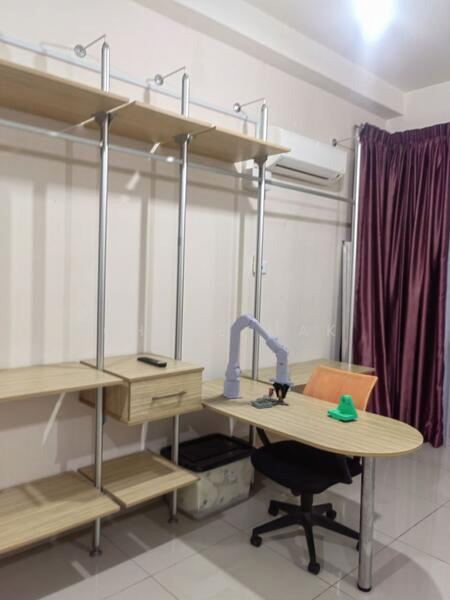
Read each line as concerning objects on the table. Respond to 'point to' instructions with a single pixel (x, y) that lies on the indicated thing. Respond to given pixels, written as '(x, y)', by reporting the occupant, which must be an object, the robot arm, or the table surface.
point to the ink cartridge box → (289, 375)
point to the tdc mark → (284, 404)
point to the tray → (258, 405)
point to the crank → (271, 394)
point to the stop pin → (280, 396)
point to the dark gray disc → (269, 401)
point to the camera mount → (344, 409)
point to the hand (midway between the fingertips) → (281, 397)
